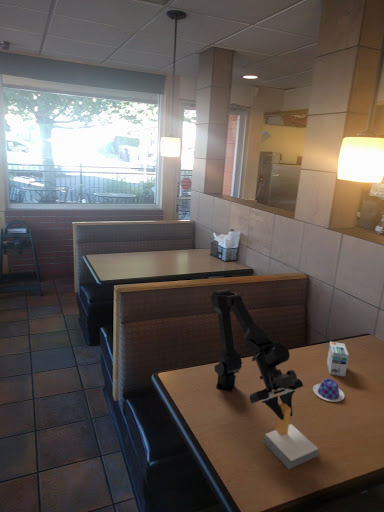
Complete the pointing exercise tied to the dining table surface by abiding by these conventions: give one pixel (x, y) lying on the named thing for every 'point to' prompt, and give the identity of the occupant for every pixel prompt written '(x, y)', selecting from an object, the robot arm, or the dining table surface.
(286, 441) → the lid
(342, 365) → the light bulb box
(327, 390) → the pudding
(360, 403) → the dining table surface
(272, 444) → the gray carton
